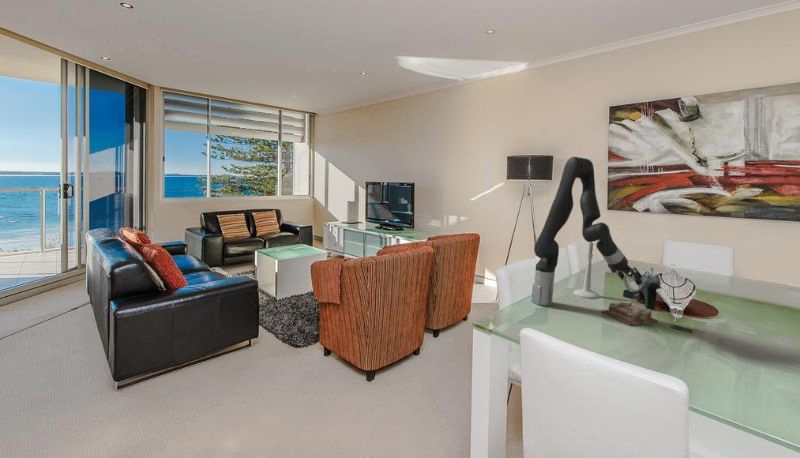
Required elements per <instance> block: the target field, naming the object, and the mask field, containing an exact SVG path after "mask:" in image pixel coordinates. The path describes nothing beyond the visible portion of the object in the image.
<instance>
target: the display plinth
mask: <svg viewBox="0 0 800 458" xmlns="http://www.w3.org/2000/svg"><path fill="white" fill-rule="evenodd" d="M632 304H633V302H631V301H621V302H619V301H618V302H610V303H609V305H608V309H606V310H605V309H604V310H601V313H600V314H603V315H605V316H607V317H609V318H612V319H613V320H616V321H618V322H620V323H623V324H625V325H627V326H629V327H633V326H634V327H635V326H642V325H651V324H658V323H659V319H656V318H653V317H652V310H651V309H647V308H644V309H642V308H640V307H637V306H634V305H632Z"/></svg>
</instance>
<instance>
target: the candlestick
mask: <svg viewBox="0 0 800 458" xmlns="http://www.w3.org/2000/svg"><path fill="white" fill-rule="evenodd" d="M593 250H594V242H588V253H586V257H587V260H586V261H587V263H586V268H585V276H584V281H583V287H582V288H580V289H576V290H574V291H573V295H575V296H576V297H579V298H582V299H591V300H594V299H595V300H596V299H599V298H600V294H599V293H598V292H596V291H593V290H592V289H591V283H592V282H591V280H592V259H593V256H594V254H593Z"/></svg>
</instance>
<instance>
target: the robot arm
mask: <svg viewBox="0 0 800 458" xmlns="http://www.w3.org/2000/svg"><path fill="white" fill-rule="evenodd" d="M576 179H580V182H581V185H582V190H581V192H582V193H581V195H580V199H579V207H580V211H581V215H582V227H581V228H582V229H581V230H582V231H581V233H582V237H583V239H584V240H585V241H586V242H588V243H589V242H592V243H594V242H596V244H595V245H596V247H595V248H596V249H597V250H598V252H599V253H600V254H601V256H602V258H603V259H604V260H605V262H606V263H607V267H608V269H610V271H611V272H612V273H613V274H615V275H617V276H618V277H619V278H620V280H621V281H623V278H624V276H625V275H627V277H628V278H631V279H632V280H633V281H634V283H635V282H636V283H637V284H636V283H635V284H636V285H640V284H641V283H642V281H641V280H640V278H641V277H642V275H643V274H641V273H640V271H639V269H637V267H632V268H631V266H629V260H628V259H627V257H626V256H625V254H624V253H623V252H622V250H621V249H620V248H619V247H618V246H617V244H616V243H615V242H614V239H613V237H612V235H611V232H610V228H609V226H608V224H606V223H605V222H597V223H595V224H593V223H594V222H596V221H597V220H598V219H601V211H600V206H599V202H598V200H597V192H596V182H595V181H596V180H595V168H594V164H593V161H591V159H588V158H584V157H579V156H572V157H570V158H568V160H567V161H566V163H565V164H564V168H563V171H562V175H561V179H560V181H559V186H558V188H557V191H556V194H555V196H554V200H553V201H552V204H551V206H550V210H549V211H548V215H547V217H546V220H545V222H544V225H543V228H542V230H541V232H540V233H539V236H538V238H537V240H536V242H535V244H534V254H535V255H536V257H537V258H539V261H538V262H537V263H536V264H535V273H534V283H533V284H532V289H531V290H532V291H531V302H532V303H533V302H534V303H533V304H536V305H537V306H542V307H543V306H546V307H548V306H552V305H553V299H554V298H553V296H554V288H555V286H554V285H555V274H556V273H555V272H556V268H557V265H558V263H559V261H558V260H559V253H560V251H559V250H560V248H559V244H558V242H557V241H556V240H555V239H556V236H557V235H558V233H559V231H561V229H562V228H563V227H564V226H565V224H566V223H567V222H568V220H569V218H570V215H571V213H572V210H573V209H574V197H573V187H574V184H575V181H576ZM629 274H630V275H629ZM633 276H634V277H633Z"/></svg>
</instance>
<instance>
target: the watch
mask: <svg viewBox="0 0 800 458" xmlns="http://www.w3.org/2000/svg"><path fill="white" fill-rule="evenodd" d="M630 274H631V273H629V275H630ZM624 275H625V274H624ZM632 276H633V275H632ZM627 277H628V276H627V275H625V276H624V278H623V280H622V284H623V287H624V288H625V289H624V290H623V295H622V298H627V299H630V300H636V299H638V298H639V291H638V290H640V289H641V288H642V285H643V280H642V278H640V280H641V281H642V283H641V284H640V285H637V283H636V282H635V281H634V283H635V284H636V285H637V289H633V288H630V286H629V284H628V280H627ZM633 277H634V276H633Z"/></svg>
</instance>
